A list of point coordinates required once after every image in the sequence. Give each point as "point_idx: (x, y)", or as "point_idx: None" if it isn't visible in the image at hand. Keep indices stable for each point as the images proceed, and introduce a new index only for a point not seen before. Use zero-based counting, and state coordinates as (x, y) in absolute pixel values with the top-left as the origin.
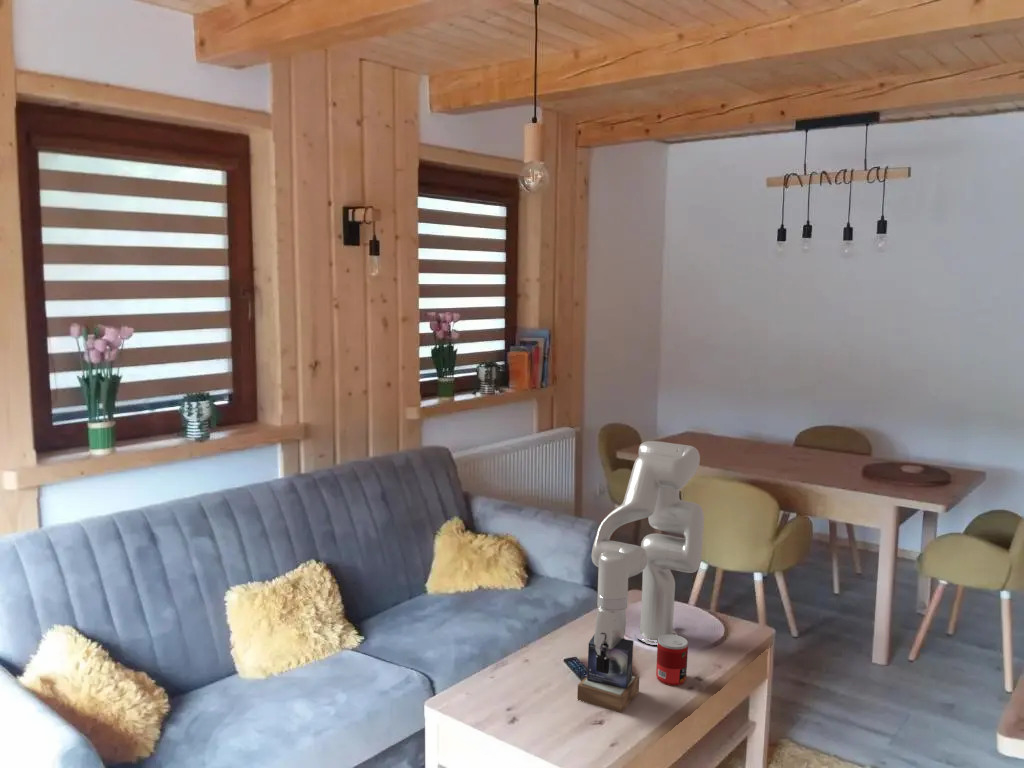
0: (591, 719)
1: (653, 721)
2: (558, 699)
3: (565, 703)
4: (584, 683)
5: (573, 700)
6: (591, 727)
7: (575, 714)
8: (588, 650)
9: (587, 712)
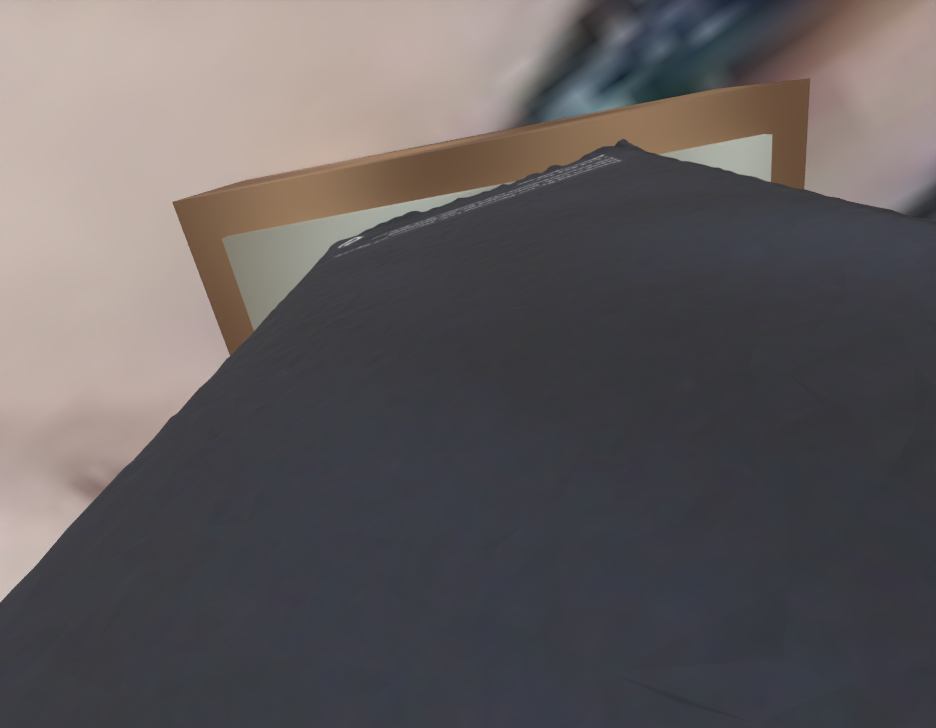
0: (113, 447)
1: None
2: (88, 8)
3: (98, 126)
4: (249, 261)
5: (207, 155)
6: (35, 501)
7: (49, 316)
8: (57, 545)
9: (161, 371)
